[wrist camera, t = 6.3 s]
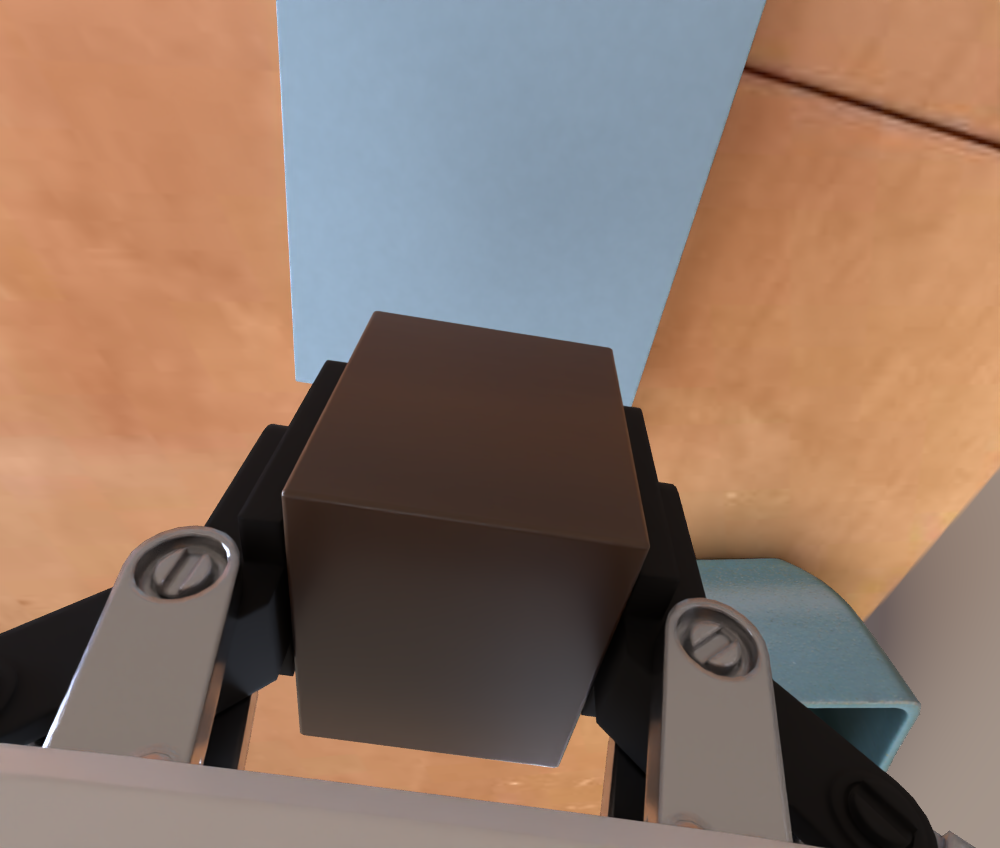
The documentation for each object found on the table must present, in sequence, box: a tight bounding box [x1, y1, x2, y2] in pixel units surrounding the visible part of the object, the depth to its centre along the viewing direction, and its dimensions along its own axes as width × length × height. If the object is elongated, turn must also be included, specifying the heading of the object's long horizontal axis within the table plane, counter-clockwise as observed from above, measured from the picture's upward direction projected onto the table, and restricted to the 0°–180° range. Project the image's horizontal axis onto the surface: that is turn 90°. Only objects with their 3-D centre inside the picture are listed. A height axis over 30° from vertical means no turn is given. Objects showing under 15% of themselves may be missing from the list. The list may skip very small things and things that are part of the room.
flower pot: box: [696, 558, 921, 772], centre depth 29 cm, size 9×9×9 cm
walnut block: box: [281, 311, 650, 768], centre depth 10 cm, size 5×4×4 cm
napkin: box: [276, 0, 766, 407], centre depth 22 cm, size 16×14×1 cm
